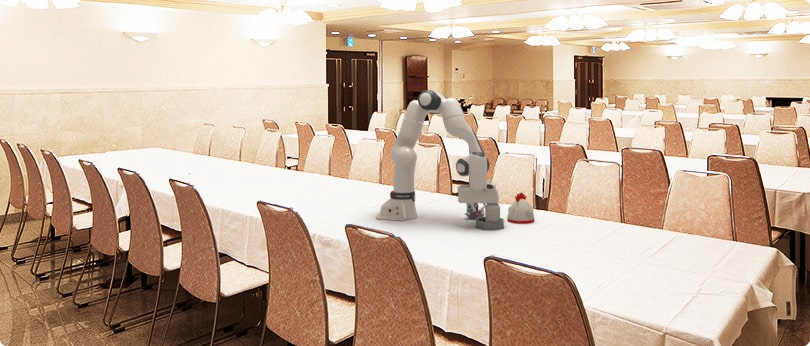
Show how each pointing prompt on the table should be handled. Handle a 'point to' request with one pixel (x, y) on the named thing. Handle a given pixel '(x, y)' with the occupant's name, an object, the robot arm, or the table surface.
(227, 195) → the table surface
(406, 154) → the robot arm
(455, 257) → the table surface
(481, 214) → the brake caliper
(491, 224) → the steel ring
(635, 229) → the table surface
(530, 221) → the kitchen timer
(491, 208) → the can
